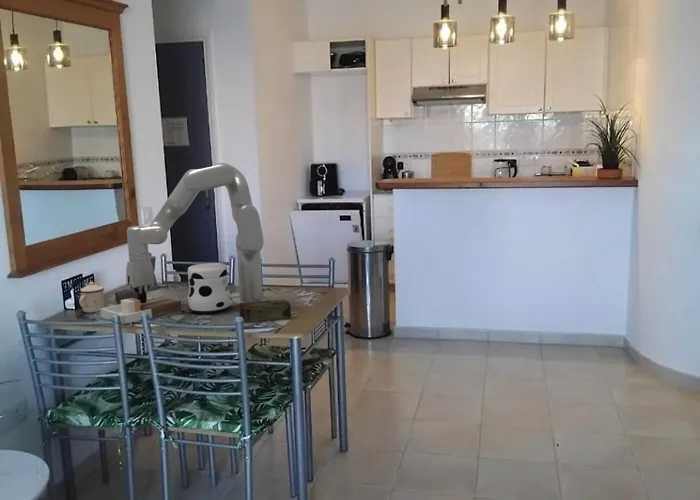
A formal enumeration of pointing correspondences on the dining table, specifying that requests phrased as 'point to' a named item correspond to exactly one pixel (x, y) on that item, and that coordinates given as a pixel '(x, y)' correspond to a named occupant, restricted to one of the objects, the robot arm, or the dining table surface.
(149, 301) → the brown square slab
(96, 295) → the teacup with lid
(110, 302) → the dining table surface
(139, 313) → the tray
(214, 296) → the milk container
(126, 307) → the cream tile
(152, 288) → the coffeepot
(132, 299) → the terracotta tile
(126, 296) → the perforated stone tool
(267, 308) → the beverage carton
